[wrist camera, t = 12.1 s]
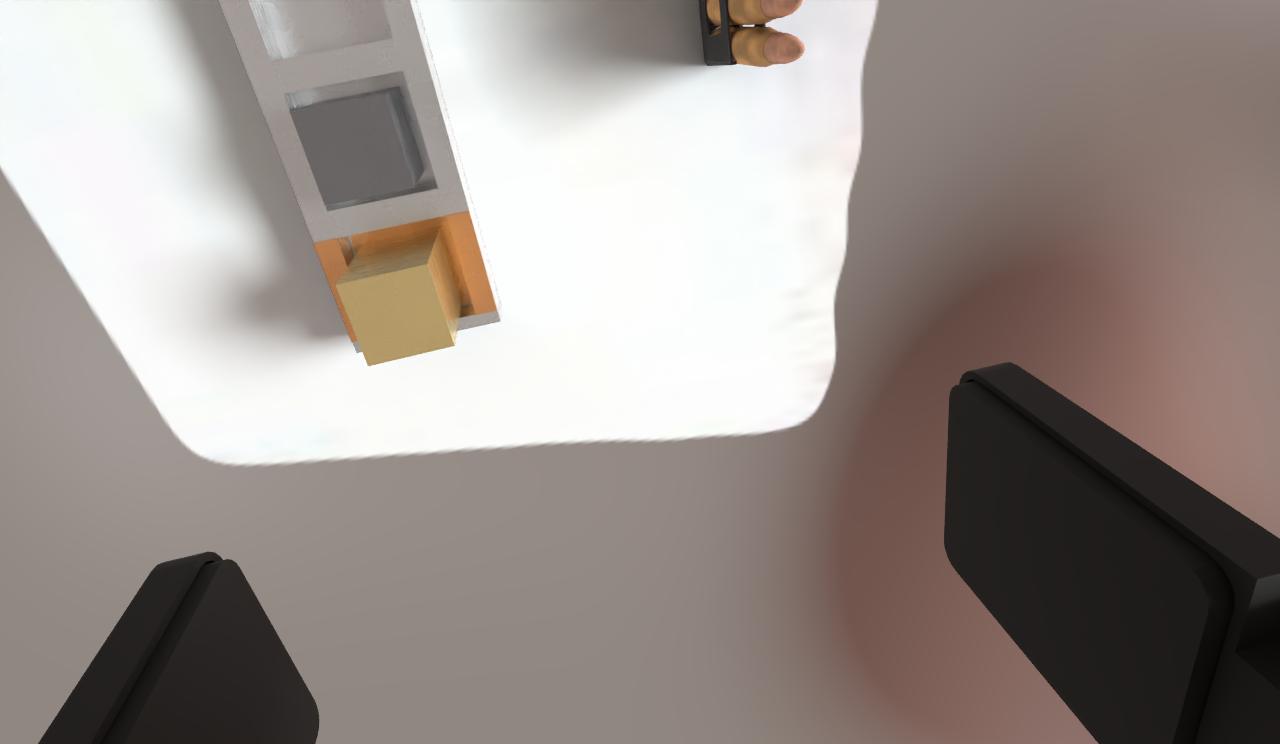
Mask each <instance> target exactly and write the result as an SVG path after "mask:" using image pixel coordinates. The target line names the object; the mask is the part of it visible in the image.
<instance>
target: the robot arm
mask: <svg viewBox="0 0 1280 744" xmlns="http://www.w3.org/2000/svg"><path fill="white" fill-rule="evenodd" d="M944 545H945V550H946V553H947V556H948V559H949V561H950V562H951V565H952V566H953V567H954V569H955V570H956V571H957V573H958V574H959V575H960V576H961V578H962V579H963V580H964V581H965V582H966V584H967V585H968V586H969V587H970V588H971V590H972V591H973V592H974V593H975V594H976V596H977V597H978V598H979V599H980V600H981V602H982V603H983V604H984V605H985V607H986V608H987V609H988V610H989V611H990V613H991V614H992V615H993V616H994V618H996V620H997V621H998V622H999V624H1000V625H1001V626H1002V627H1003V628H1004V630H1005V631H1006V632H1007V633H1008V634H1009V636H1010V637H1011V638H1012V639H1013V641H1014V642H1015V643H1016V644H1017V645H1018V646H1019V648H1020V649H1021V650H1022V651H1023V652H1024V654H1025V655H1026V656H1027V657H1028V658H1029V660H1030V661H1031V662H1032V664H1033V665H1034V666H1035V667H1036V668H1037V670H1038V671H1039V672H1040V673H1041V674H1042V675H1043V677H1044V678H1045V679H1046V680H1047V682H1048V683H1049V684H1050V685H1051V686H1052V687H1053V689H1054V690H1055V691H1056V692H1057V694H1058V695H1059V696H1060V697H1061V699H1062V700H1063V701H1064V702H1065V703H1066V704H1067V706H1068V707H1069V708H1070V710H1071V711H1072V712H1073V713H1074V714H1075V715H1076V717H1077V718H1078V719H1079V720H1080V722H1081V723H1082V724H1083V725H1084V726H1085V728H1086V729H1087V730H1088V731H1089V732H1090V734H1091V735H1092V736H1093V737H1094V739H1095V740H1096V741H1097V742H1098V743H1099V744H1280V539H1279V538H1278V537H1276V536H1275V535H1273V534H1272V533H1270V532H1269V531H1267V530H1266V529H1264V528H1263V527H1261V526H1260V525H1258V524H1257V523H1255V522H1254V521H1252V520H1250V519H1249V518H1247V517H1246V516H1244V515H1243V514H1241V513H1240V512H1238V511H1237V510H1235V509H1234V508H1232V507H1231V506H1229V505H1228V504H1226V503H1225V502H1223V501H1222V500H1220V499H1218V498H1217V497H1216V496H1214V495H1213V494H1211V493H1210V492H1208V491H1206V490H1205V489H1204V488H1202V487H1200V486H1199V485H1198V484H1196V483H1194V482H1193V481H1191V480H1190V479H1188V478H1187V477H1185V476H1184V475H1182V474H1181V473H1179V472H1178V471H1176V470H1175V469H1173V468H1172V467H1170V466H1169V465H1167V464H1166V463H1164V462H1163V461H1161V460H1160V459H1158V458H1157V457H1155V456H1154V455H1152V454H1151V453H1149V452H1147V451H1146V450H1145V449H1143V448H1141V447H1140V446H1139V445H1137V444H1136V443H1134V442H1132V441H1131V440H1129V439H1128V438H1126V437H1125V436H1123V435H1122V434H1120V433H1119V432H1117V431H1116V430H1114V429H1113V428H1111V427H1110V426H1108V425H1106V424H1105V423H1104V422H1102V421H1101V420H1099V419H1098V418H1096V417H1095V416H1093V415H1092V414H1090V413H1089V412H1087V411H1086V410H1084V409H1083V408H1081V407H1080V406H1078V405H1076V404H1075V403H1073V402H1072V401H1070V400H1069V399H1067V398H1066V397H1064V396H1063V395H1061V394H1060V393H1058V392H1057V391H1055V390H1054V389H1052V388H1051V387H1049V386H1048V385H1046V384H1045V383H1043V382H1042V381H1040V380H1039V379H1037V378H1035V377H1034V376H1033V375H1031V374H1030V373H1028V372H1027V371H1025V370H1023V369H1022V368H1021V367H1019V366H1017V365H1015V364H1013V363H1011V362H1009V363H1001V364H997V365H993V366H989V367H984V368H980V369H976V370H972V371H968V372H966V373H965V374H963V375H962V377H961V379H960V384H959V385H956V386H954V387H953V388H952V390H951V391H950V397H949V421H948V448H947V476H946V502H945V529H944ZM318 730H319V713H318V709H317V705H316V703H315V700H314V699H313V697H312V695H311V693H310V691H309V690H308V688H307V686H306V684H305V683H304V681H303V679H302V677H301V676H300V674H299V672H298V670H297V668H296V667H295V665H294V663H293V661H292V660H291V658H290V656H289V654H288V652H287V651H286V649H285V647H284V645H283V644H282V642H281V640H280V638H279V637H278V635H277V633H276V631H275V629H274V628H273V626H272V624H271V622H270V620H269V619H268V617H267V615H266V614H265V612H264V610H263V608H262V606H261V605H260V603H259V601H258V599H257V597H256V596H255V594H254V592H253V590H252V589H251V587H250V585H249V583H248V582H247V580H246V578H245V576H244V574H243V573H242V571H241V569H240V567H239V566H238V565H237V563H236V562H234V561H233V560H229V559H226V560H223V559H222V558H221V557H220V556H219V555H217V554H216V553H214V552H205V553H201V554H197V555H192V556H189V557H184V558H180V559H175V560H171V561H167V562H163V563H161V564H158V565H157V566H156V567H155V568H154V569H153V570H152V571H151V573H150V574H149V576H148V577H147V579H146V580H145V582H144V583H143V585H142V586H141V588H140V589H139V591H138V592H137V594H136V595H135V597H134V598H133V600H132V602H131V603H130V605H129V606H128V608H127V609H126V611H125V612H124V614H123V615H122V617H121V618H120V620H119V621H118V623H117V624H116V626H115V627H114V629H113V631H112V632H111V633H110V635H109V637H108V638H107V640H106V641H105V643H104V644H103V646H102V647H101V649H100V650H99V652H98V653H97V655H96V656H95V658H94V659H93V661H92V662H91V664H90V666H89V667H88V668H87V670H86V672H85V673H84V675H83V676H82V678H81V679H80V681H79V682H78V684H77V685H76V687H75V689H74V690H73V691H72V693H71V695H70V696H69V698H68V699H67V701H66V702H65V703H64V705H63V707H62V708H61V710H60V711H59V713H58V714H57V716H56V717H55V719H54V720H53V722H52V723H51V725H50V726H49V728H48V729H47V731H46V733H45V734H44V735H43V737H42V738H41V740H40V742H39V743H38V744H315V743H316V739H317V735H318Z"/></svg>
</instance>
